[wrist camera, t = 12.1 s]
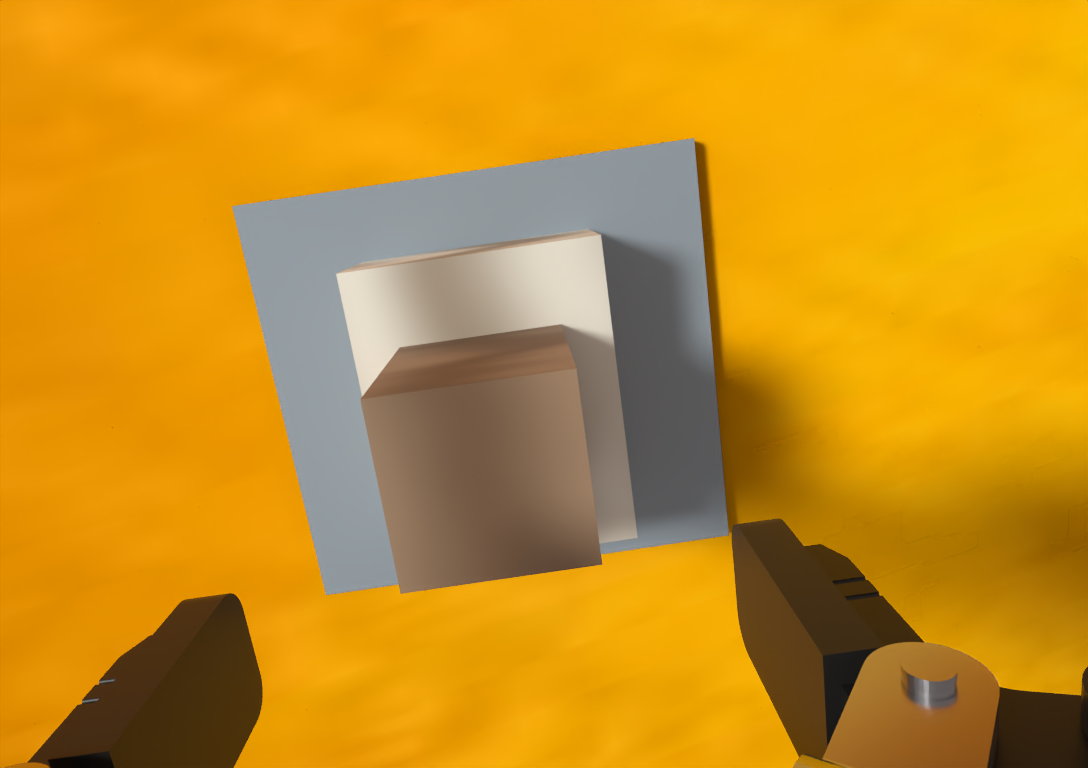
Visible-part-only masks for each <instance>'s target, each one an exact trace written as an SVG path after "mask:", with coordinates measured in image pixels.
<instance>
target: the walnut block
mask: <svg viewBox="0 0 1088 768" xmlns="http://www.w3.org/2000/svg"><path fill="white" fill-rule="evenodd" d="M360 401H361V406H362V410H363V415H364V420H365V425H366V430H367V434H368V439H369V444H370V449H371V454H372V458H373V463H374V468H375V473H376V477H377V482H378V487H379V492H380V497H381V501H382V506H383V511H384V516H385V521H386V525H387V530H388V535H389V540H390V545H391V549H392V554H393V559H394V564H395V569H396V573H397V578H398V583H399V588H400V593H408V592H415V591H422V590H429V589H436V588H443V587H450V586H457V585H463V584H470V583H477V582H484V581H491V580H498V579H505V578H512V577H519V576H526V575H533V574H539V573H546V572H553V571H560V570H567V569H574V568H581V567H588V566H595V565H602V559H601V551H600V544H599V536H598V528H597V521H596V513H595V505H594V498H593V490H592V483H591V475H590V467H589V460H588V452H587V444H586V437H585V429H584V421H583V414H582V406H581V399H580V391H579V383H578V376H577V368H576V365H575V363H574V360H573V357H572V354H571V351H570V349H569V346H568V343H567V340H566V338H565V335H564V332H563V329H562V326H561V324H559V325H552V326H545V327H538V328H531V329H524V330H517V331H510V332H503V333H496V334H489V335H483V336H476V337H469V338H462V339H455V340H448V341H441V342H434V343H427V344H420V345H413V346H406V347H400V348H399V349H398V350H397V351H396V353H395V354H394V355H393V357H392V358H391V359H390V361H389V362H388V363H387V365H386V366H385V367H384V369H383V370H382V371H381V373H380V374H379V375H378V377H377V378H376V379H375V381H374V382H373V383H372V384H371V386H370V387H369V388H368V390H367V391H366V392H365V394H364V395H363V396H362V398H361V399H360Z"/></svg>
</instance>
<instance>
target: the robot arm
mask: <svg viewBox="0 0 1088 768" xmlns="http://www.w3.org/2000/svg"><path fill="white" fill-rule="evenodd" d="M732 547H733V559H734V572H735V584H736V597H737V609H738V618H739V624H740V629H741V633H742V637H743V641H744V644H745V647H746V650H747V652H748V655H749V657H750V659H751V661H752V663H753V665H754V667H755V669H756V671H757V673H758V675H759V677H760V679H761V681H762V683H763V685H764V687H765V689H766V691H767V693H768V695H769V697H770V699H771V701H772V703H773V705H774V707H775V709H776V711H777V713H778V715H779V717H780V719H781V721H782V723H783V725H784V727H785V729H786V731H787V733H788V735H789V737H790V739H791V741H792V743H793V745H794V747H795V750H796V752H797V754H798V756H799V758H798V760H797V761H796V763H795V765H794V767H793V768H1088V667H1087V668H1086V669H1085V671H1084V673H1083V677H1082V694H1081V696H1079V695H1067V694H1054V693H1042V692H1029V691H1020V690H1012V689H1007V688H1002V687H999V685H998V682H997V680H996V679H995V677H994V675H993V674H992V673H991V672H990V671H989V670H988V669H987V668H986V667H985V666H984V665H983V664H981V663H980V662H979V661H977V660H975V659H974V658H972V657H970V656H968V655H966V654H964V653H962V652H960V651H957V650H954V649H952V648H949V647H945V646H941V645H936V644H931V643H925V642H924V641H923V640H922V639H921V638H920V637H919V636H918V635H917V634H916V633H915V631H914V630H913V629H912V628H911V627H910V626H909V625H908V624H907V623H906V621H905V620H904V619H903V618H902V617H901V616H900V615H899V614H898V613H897V612H896V610H895V609H894V608H893V607H892V606H891V605H890V604H889V603H888V602H887V600H886V599H885V598H884V597H883V596H879V592H878V591H877V589H876V588H875V587H874V586H873V585H872V584H871V583H870V582H869V581H868V580H865V576H864V575H863V574H862V573H861V572H860V571H859V570H858V568H857V567H856V566H855V565H854V564H853V563H852V562H851V561H850V560H849V558H847V557H845V556H843V555H841V554H839V553H837V552H835V551H833V550H831V549H829V548H827V547H825V546H823V545H821V544H818V545H811V546H803V545H802V543H801V542H800V541H799V540H798V538H797V537H796V536H795V535H794V533H793V532H792V531H791V530H790V529H789V527H788V526H787V525H786V524H785V522H784V521H783V520H782V519H772V520H765V521H758V522H751V523H743V524H736V525H734V526H733V529H732ZM82 701H83V702H82V704H81V705H77V706H76V708H75V709H74V710H73V711H72V712H71V713H70V714H69V716H68V717H67V718H66V719H65V720H64V721H63V722H62V724H61V725H60V726H59V727H58V728H57V729H56V730H55V732H54V733H53V734H52V735H51V736H50V737H49V738H48V740H47V741H46V742H45V743H44V744H43V745H42V746H41V748H40V749H39V750H38V751H37V752H36V753H35V754H34V756H33V757H32V758H31V759H30V760H29V761H28V762H27V763H21V764H16V765H12V766H8V767H4V768H233V767H234V765H235V764H236V762H237V760H238V758H239V756H240V754H241V752H242V750H243V748H244V746H245V744H246V742H247V740H248V738H249V736H250V734H251V732H252V730H253V728H254V726H255V724H256V722H257V720H258V717H259V714H260V711H261V705H262V680H261V675H260V671H259V668H258V664H257V660H256V656H255V652H254V649H253V645H252V641H251V637H250V634H249V630H248V626H247V622H246V619H245V615H244V611H243V608H242V605H241V602H240V600H239V599H238V597H237V596H236V595H234V594H231V593H230V594H223V595H215V596H208V597H201V598H194V599H187V600H183V601H182V602H181V603H179V605H178V606H177V607H176V608H175V609H174V610H173V612H172V613H171V614H170V615H169V616H168V618H167V619H166V620H165V621H164V622H163V623H162V625H161V626H160V627H159V628H158V629H157V631H156V632H155V633H154V634H153V635H151V636H149V637H147V638H146V639H145V640H143V641H142V642H140V643H139V644H138V645H136V646H135V647H133V648H132V649H131V650H129V651H128V652H126V653H125V654H123V655H122V656H121V657H119V658H118V660H117V661H116V662H115V663H114V664H113V665H112V666H111V668H110V669H109V670H108V671H107V672H106V673H105V674H104V676H103V677H102V678H101V679H100V680H99V685H95V686H94V687H93V688H92V689H91V690H90V692H89V693H88V694H87V695H86V696H85V697H84V698H83V700H82Z"/></svg>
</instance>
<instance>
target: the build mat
mask: <svg viewBox="0 0 1088 768" xmlns="http://www.w3.org/2000/svg"><path fill="white" fill-rule="evenodd" d="M232 207H233V212H234V216H235V220H236V224H237V228H238V232H239V236H240V240H241V245H242V249H243V253H244V257H245V261H246V265H247V269H248V274H249V278H250V282H251V286H252V290H253V294H254V298H255V303H256V307H257V311H258V315H259V319H260V323H261V327H262V331H263V336H264V340H265V344H266V348H267V352H268V356H269V360H270V365H271V369H272V373H273V377H274V381H275V385H276V389H277V394H278V398H279V402H280V406H281V410H282V414H283V418H284V423H285V427H286V431H287V435H288V439H289V443H290V447H291V451H292V456H293V460H294V464H295V468H296V472H297V476H298V480H299V485H300V489H301V493H302V497H303V501H304V505H305V509H306V514H307V518H308V522H309V526H310V530H311V534H312V538H313V543H314V547H315V551H316V555H317V559H318V563H319V567H320V571H321V576H322V580H323V584H324V588H325V592H326V595H329V594H336V593H343V592H350V591H356V590H363V589H370V588H377V587H383V586H390V585H397V584H399V583H398V578H397V573H396V569H395V564H394V559H393V554H392V549H391V545H390V540H389V535H388V530H387V525H386V521H385V516H384V511H383V506H382V501H381V497H380V492H379V487H378V482H377V477H376V473H375V468H374V463H373V458H372V454H371V449H370V444H369V439H368V434H367V430H366V425H365V420H364V415H363V410H362V406H361V401H360V399H361V398H362V394H361V389H360V384H359V380H358V375H357V370H356V366H355V361H354V356H353V351H352V347H351V342H350V337H349V333H348V328H347V323H346V318H345V314H344V309H343V304H342V300H341V295H340V290H339V285H338V281H337V276H336V274H337V273H339V272H341V271H344V270H346V269H348V268H351V267H353V266H355V265H357V264H360V263H362V262H367V261H374V260H381V259H388V258H394V257H401V256H408V255H415V254H422V253H428V252H435V251H442V250H449V249H455V248H462V247H469V246H476V245H483V244H489V243H496V242H503V241H510V240H516V239H523V238H530V237H537V236H544V235H550V234H557V233H564V232H571V231H577V230H584V229H589V230H592V231H594V232H596V233H598V234H600V235H601V240H602V248H603V256H604V264H605V273H606V281H607V289H608V297H609V306H610V314H611V322H612V330H613V339H614V347H615V355H616V363H617V372H618V380H619V388H620V396H621V405H622V413H623V421H624V429H625V438H626V446H627V454H628V462H629V471H630V479H631V487H632V495H633V504H634V512H635V520H636V528H637V537H638V538H634V539H627V540H620V541H614V542H607V543H600V551H601V554H605V553H612V552H619V551H626V550H632V549H639V548H646V547H652V546H659V545H666V544H673V543H679V542H686V541H693V540H700V539H706V538H713V537H720V536H727V535H729V531H728V519H727V508H726V497H725V485H724V474H723V462H722V451H721V439H720V428H719V416H718V405H717V393H716V382H715V371H714V359H713V348H712V336H711V325H710V313H709V302H708V290H707V279H706V268H705V256H704V245H703V233H702V222H701V210H700V199H699V187H698V176H697V165H696V153H695V142H694V138H692V139H686V140H679V141H672V142H665V143H659V144H652V145H645V146H638V147H631V148H625V149H618V150H611V151H604V152H598V153H591V154H584V155H577V156H570V157H564V158H557V159H550V160H543V161H536V162H530V163H523V164H516V165H509V166H503V167H496V168H489V169H482V170H475V171H469V172H462V173H455V174H448V175H441V176H435V177H428V178H421V179H414V180H408V181H401V182H394V183H387V184H380V185H374V186H367V187H360V188H353V189H347V190H340V191H333V192H326V193H319V194H313V195H306V196H299V197H292V198H285V199H279V200H272V201H265V202H258V203H252V204H245V205H238V206H232Z"/></svg>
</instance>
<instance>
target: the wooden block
mask: <svg viewBox="0 0 1088 768" xmlns="http://www.w3.org/2000/svg"><path fill="white" fill-rule="evenodd" d="M336 276H337V281H338V285H339V290H340V295H341V300H342V304H343V309H344V314H345V318H346V323H347V328H348V333H349V337H350V342H351V347H352V351H353V356H354V361H355V366H356V370H357V375H358V380H359V384H360V389H361V394H362V396H363V395H364V394H365V392H366V391H367V390H368V388H369V387H370V386H371V384H372V383H373V382H374V381H375V379H376V378H377V377H378V375H379V374H380V373H381V371H382V370H383V369H384V367H385V366H386V365H387V363H388V362H389V361H390V359H391V358H392V357H393V355H394V354H395V353H396V351H397V350H398V349H399V348H400V347H406V346H413V345H420V344H427V343H434V342H441V341H448V340H455V339H462V338H469V337H476V336H483V335H489V334H496V333H503V332H510V331H517V330H524V329H531V328H538V327H545V326H552V325H559V324H561V326H562V329H563V332H564V335H565V338H566V340H567V343H568V346H569V349H570V351H571V354H572V357H573V360H574V363H575V365H576V368H577V376H578V383H579V391H580V399H581V406H582V414H583V421H584V429H585V437H586V444H587V452H588V460H589V467H590V475H591V483H592V490H593V498H594V505H595V513H596V521H597V528H598V536H599V544H600V543H607V542H614V541H620V540H627V539H634V538H638V537H637V528H636V520H635V512H634V504H633V495H632V487H631V479H630V471H629V462H628V454H627V446H626V438H625V429H624V421H623V413H622V405H621V396H620V388H619V380H618V372H617V363H616V355H615V347H614V339H613V330H612V322H611V314H610V306H609V297H608V289H607V281H606V273H605V264H604V256H603V248H602V240H601V235H600V234H598V233H596V232H594V231H592V230H589V229H584V230H577V231H571V232H564V233H557V234H550V235H544V236H537V237H530V238H523V239H516V240H510V241H503V242H496V243H489V244H483V245H476V246H469V247H462V248H455V249H449V250H442V251H435V252H428V253H422V254H415V255H408V256H401V257H394V258H388V259H381V260H374V261H367V262H362V263H360V264H357V265H355V266H353V267H351V268H348V269H346V270H344V271H341V272H339V273H337V274H336Z"/></svg>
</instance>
